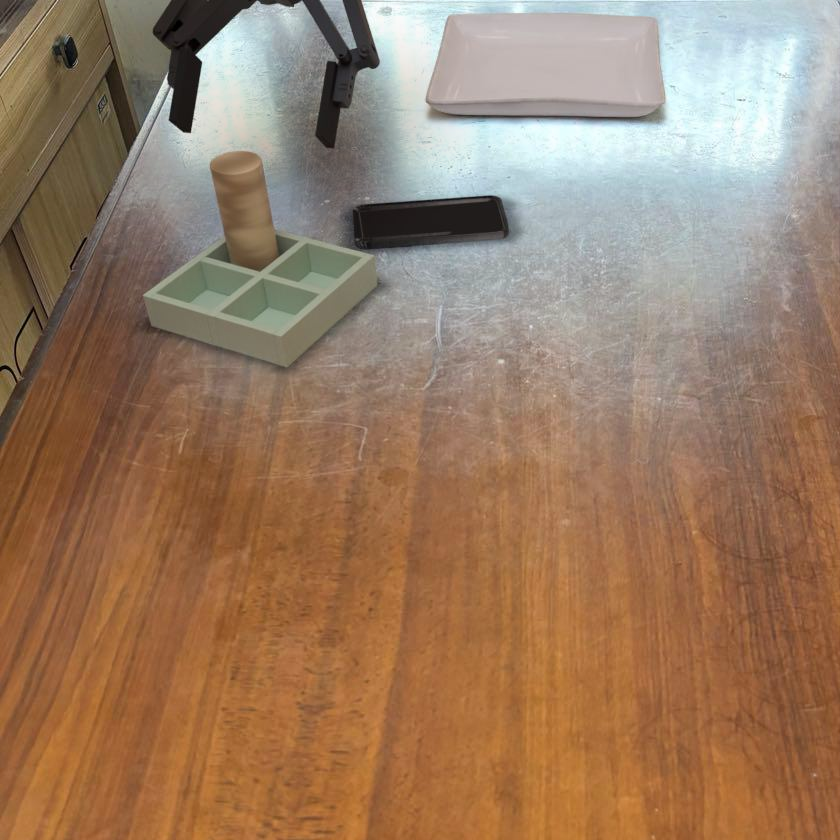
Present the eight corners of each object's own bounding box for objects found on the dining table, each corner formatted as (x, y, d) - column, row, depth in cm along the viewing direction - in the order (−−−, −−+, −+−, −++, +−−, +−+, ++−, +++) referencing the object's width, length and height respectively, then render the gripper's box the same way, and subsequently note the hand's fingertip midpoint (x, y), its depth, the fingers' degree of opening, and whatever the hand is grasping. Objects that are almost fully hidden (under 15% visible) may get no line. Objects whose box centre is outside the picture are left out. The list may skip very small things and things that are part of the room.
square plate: (449, 40, 146) (447, 10, 143) (655, 44, 145) (658, 13, 143) (425, 128, 127) (423, 94, 124) (664, 132, 126) (667, 99, 123)
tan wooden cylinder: (224, 281, 101) (198, 167, 94) (253, 259, 104) (230, 146, 97) (263, 292, 100) (240, 177, 92) (291, 269, 103) (271, 156, 95)
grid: (152, 330, 97) (142, 295, 95) (250, 255, 106) (243, 220, 104) (288, 372, 93) (281, 336, 90) (378, 290, 102) (374, 255, 99)
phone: (352, 205, 111) (500, 194, 113) (353, 215, 112) (500, 204, 113) (354, 244, 105) (510, 232, 107) (356, 254, 106) (510, 242, 108)
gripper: (437, -71, 98) (399, 164, 98) (179, -89, 102) (142, 137, 102) (414, -123, 91) (373, 131, 91) (137, -141, 95) (98, 103, 95)
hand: (251, 135), depth 97 cm, fingers open, 13 cm apart
